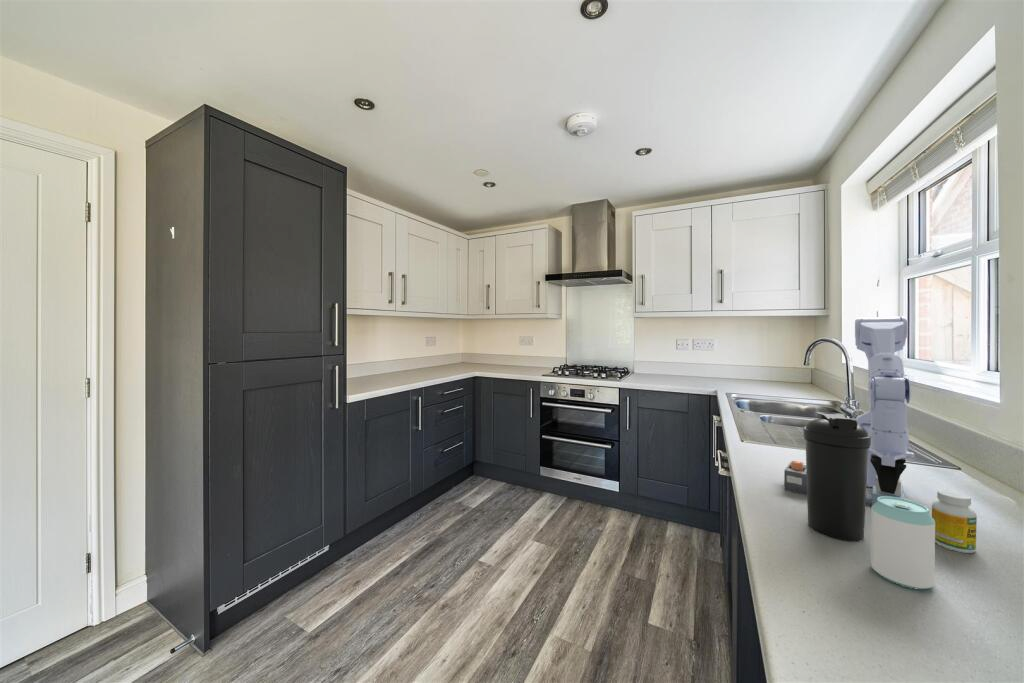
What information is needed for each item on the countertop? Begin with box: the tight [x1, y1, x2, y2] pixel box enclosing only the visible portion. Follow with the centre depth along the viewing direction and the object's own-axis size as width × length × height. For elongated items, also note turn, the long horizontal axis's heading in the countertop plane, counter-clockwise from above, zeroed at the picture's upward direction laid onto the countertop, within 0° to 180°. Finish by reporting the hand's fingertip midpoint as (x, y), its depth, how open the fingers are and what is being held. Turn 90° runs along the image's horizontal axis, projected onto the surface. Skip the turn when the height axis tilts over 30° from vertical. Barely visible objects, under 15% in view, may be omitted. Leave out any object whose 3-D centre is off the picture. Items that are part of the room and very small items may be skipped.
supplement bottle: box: [931, 489, 978, 554], centre depth 69 cm, size 5×5×10 cm
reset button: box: [790, 460, 804, 471], centre depth 96 cm, size 2×2×4 cm
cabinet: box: [783, 462, 807, 496], centre depth 96 cm, size 8×6×5 cm
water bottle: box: [802, 411, 871, 542], centre depth 75 cm, size 10×10×23 cm
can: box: [870, 496, 936, 590], centre depth 60 cm, size 7×7×12 cm
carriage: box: [871, 475, 906, 505], centre depth 84 cm, size 6×5×6 cm
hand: (887, 490), depth 85 cm, fingers closed on carriage, 2 cm apart
